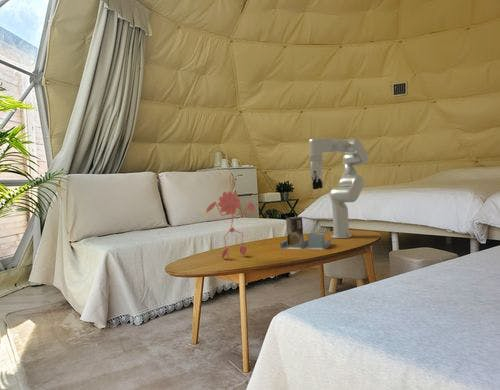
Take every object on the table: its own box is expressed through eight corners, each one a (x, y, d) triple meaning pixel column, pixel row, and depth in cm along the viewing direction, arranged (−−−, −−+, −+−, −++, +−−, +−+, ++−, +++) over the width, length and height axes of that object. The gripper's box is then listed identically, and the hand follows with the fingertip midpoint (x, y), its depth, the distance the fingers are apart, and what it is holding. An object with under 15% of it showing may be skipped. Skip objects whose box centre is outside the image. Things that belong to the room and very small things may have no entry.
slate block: (310, 245, 222) (310, 233, 222) (324, 245, 219) (324, 233, 218) (308, 247, 218) (307, 234, 217) (322, 247, 214) (322, 234, 214)
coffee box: (304, 244, 226) (302, 216, 225) (303, 246, 219) (302, 217, 219) (288, 245, 227) (286, 217, 226) (287, 247, 221) (285, 218, 220)
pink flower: (260, 255, 208) (255, 189, 207) (213, 262, 199) (208, 193, 198) (249, 251, 223) (244, 189, 222) (205, 258, 213) (200, 193, 212)
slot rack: (289, 245, 233) (288, 238, 233) (331, 246, 223) (331, 238, 223) (280, 250, 219) (279, 243, 218) (324, 251, 208) (324, 243, 208)
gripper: (313, 160, 242) (315, 188, 242) (305, 159, 226) (307, 189, 227) (326, 159, 238) (327, 187, 239) (318, 158, 223) (320, 189, 224)
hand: (317, 188), depth 233 cm, fingers open, 9 cm apart
